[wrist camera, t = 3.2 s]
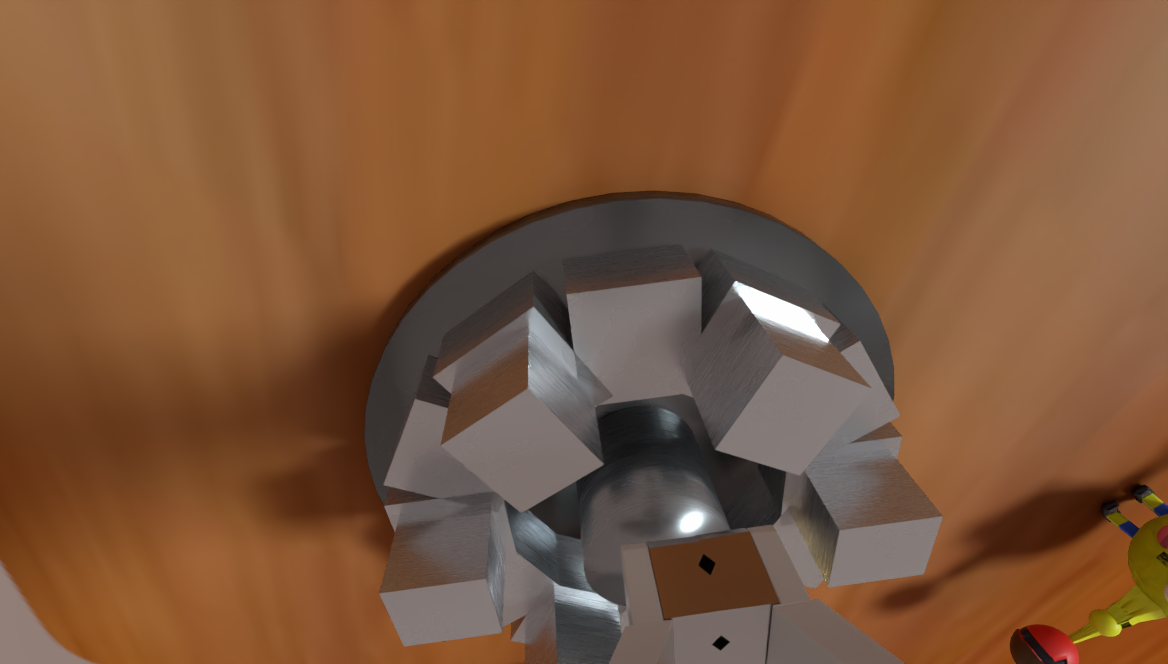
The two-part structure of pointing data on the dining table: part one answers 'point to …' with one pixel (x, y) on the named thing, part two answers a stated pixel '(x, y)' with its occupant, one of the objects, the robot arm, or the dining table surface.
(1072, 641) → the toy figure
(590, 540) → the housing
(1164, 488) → the dining table surface
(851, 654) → the robot arm
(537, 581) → the cube bead bracelet
